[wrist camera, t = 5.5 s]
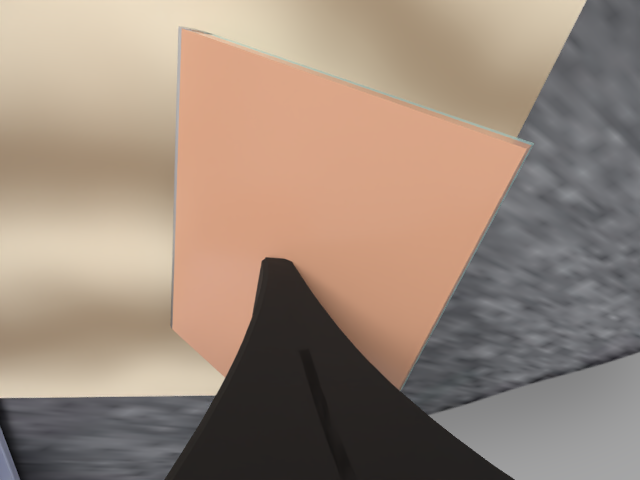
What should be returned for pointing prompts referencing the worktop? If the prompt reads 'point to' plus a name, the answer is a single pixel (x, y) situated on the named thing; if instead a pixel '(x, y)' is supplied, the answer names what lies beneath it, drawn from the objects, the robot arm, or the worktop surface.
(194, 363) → the board
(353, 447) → the robot arm
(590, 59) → the worktop surface
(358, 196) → the tile
